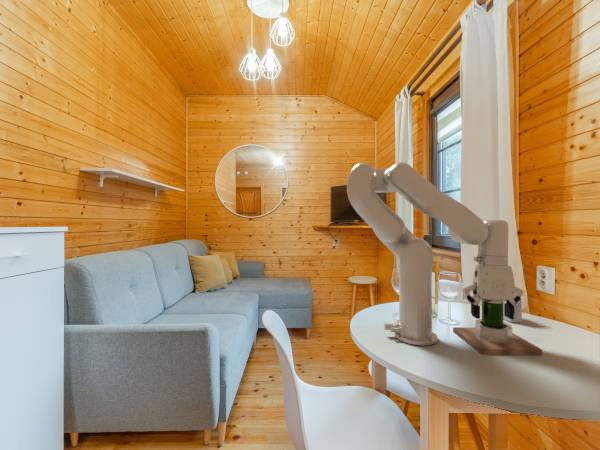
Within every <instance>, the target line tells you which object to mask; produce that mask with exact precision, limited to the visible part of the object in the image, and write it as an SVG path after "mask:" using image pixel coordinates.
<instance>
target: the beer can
mask: <svg viewBox="0 0 600 450" xmlns="http://www.w3.org/2000/svg"><path fill="white" fill-rule="evenodd" d="M481 319H482V324H483V325H485V326H488V327H493V328H503V322H504V319H503V301H502V300H483V299H482V300H481Z"/></svg>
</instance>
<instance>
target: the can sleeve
mask: <svg viewBox="0 0 600 450" xmlns="http://www.w3.org/2000/svg"><path fill="white" fill-rule="evenodd" d="M475 328H476V336H477V337H478V338H480V339H482V340H485V341H488V342H492V343H498V344H508V343H511V342H512V333H513V327H512V325H511V324H509V323H507V322H504V321H503V328H493V327H488V326H485V325H483V324H482V318H479V319H476V320H475Z"/></svg>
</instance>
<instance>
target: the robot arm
mask: <svg viewBox="0 0 600 450" xmlns="http://www.w3.org/2000/svg"><path fill="white" fill-rule="evenodd" d="M396 192H397V193H398V194H399V195H400V196H402V197H403V198H404V199H405V200H407V201H408V203H410V204H411V205H412V207H414V208H415V209H416V210H417V211H419V212H420V213H422V214H424V215H426V216H429V217H431V218H433V219H435V220H438V221H439V222H440V223H442V224H443V225H445V226H446V227H447V228H448V229H447V233H448V236H449V238H450V239H451V240H452V241H454V242H455V243H459V244H465V245H468V246H477V256H474V257H473V261H474V262H476V264H475V268H474V270H473V271H474V272H473V277H472V284H469V285H468V286H466V287H464V288H462V290H461V292H462V293H463V295H464V298H465V299H466V300H467V301H468V302H469V303H470V314H471V316H472V317H473V318H474V319H476V320H479V319H481V306H480V305H479V304H480V303H481V302H482V299H483V300H505V301H506V302H507V303H505V304H504V316H506V317H508V318H510V319H514V306H516V305H517V302H518V301H519V300H520V299H521V300H522V298H521V297H523V295H524V290H523V289H521V288H519V287H517V286H515V278H514V273H513V269H512V266H510V265H509V223H508V222H507V221H506V220H503V219H484V220H483V219H481V217H479V216H478V215H476V214H475V213H474V212H473V211H472V210H471V209H469V208H468V207H467V206H466V205H465V204H463V203H461V202H460V201H458V200H456V199H454V198H453V197H451V196H450V195H448V194H447V193H445V192H443V191H441V189H439V188H438V187H436V186H435V185H434V184H433V183H431V182H430V181H429V180H428V179H427V178H425V177H424V176H423V175H422V174H421V173H420V172H418V171H417V170H416V169H415V168H413V167H412V166H411V165H410V164H408V163H406V162H404V161H403V162H402V161H399V162H395V163H394V164H393V165H391V166H390V167H388V168H385V167H384V168H375V167H374V166H372V165H371V164H370V163H367V162H361V163H360V162H359V163H357V164H355V165H354V166H353V167H352V168H351V170H350V172H349V175H348V178H347V182H346V193H347V198H348V201H349V203H350V205H351V207H352V209H353V210H354V211H355V212H356V214H357V215H358V216H360V218H361V219H362V221H364V223H366V225H368V226H369V227H370V229H372V231H373V233H374V235H375V236H376V237H377V238H378V239H379V241H380V242H381V243H382V244H383V245H384V246H385V247H387V249H388V250H389V251H391V253H392V254H393V255H394V256H395V257H396V258H397V259H399V272H398V274H399V275H398V288H399V289H398V290H399V291H398V292H399V293H398V296H399V301H398V302H399V303H398V305H399V307H398V308H399V309H398V310H399V319H396V322H394V323H384V324H383V329H384V331H390V333H394V337H395V338H396V339H397V340H398V341H401V342H403V343H405V344H408V345H414V346H432V345H435V344H436V343H437V342H438V335H437V334H436V333H435V332H433V303H432V302H433V301H432V300H433V298H432V297H433V294H432V293H433V292H432V291H433V289H432V284H433V282H432V280H433V278H432V275H433V266H434V252H433V248H432V246H431V245H430V244H429V242H428V241H426V240H425V239H424V238H421V237H417V236H415V235H414V234H413V232H412V231H411V230H410V229H408V228H407V226H406V224H405V222H404V220H403V218H402V217H401V216H399V215H398V214H396V212H395V211H393V209H391V207H390V206H388V205H387V204H386V203H385V202H384V200H382V199H381V197H379V195H378V194H377V193H381V194H382V193H396ZM471 292H472V294H473V295H471Z"/></svg>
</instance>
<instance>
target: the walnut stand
mask: <svg viewBox="0 0 600 450" xmlns="http://www.w3.org/2000/svg"><path fill="white" fill-rule="evenodd" d="M452 329H453V330H452V331H453V334H455V335H457V337H459V338H461V339H462V340H463V341H464V342H465V343H467V345H469V346H470V347H472V348H473V349H474V350H476V351H477V352H478V353H479V354H481V355H503V356H504V355H505V356H507V355H508V356H509V355H510V356H512V355H513V356H522V355H523V356H542V355H543V349H541V348H540V347H539V346H536V345H535V344H533V343H532V342H530V341H527V340H526V339H524V338H522V337H520V336H519V335H517V334H515V333H513V332H512V342H511V343H508V344H498V343H492V342H488V341H485V340H482V339H480V338H478V337H477V336H476V327H461V326H460V327H453V328H452Z"/></svg>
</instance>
